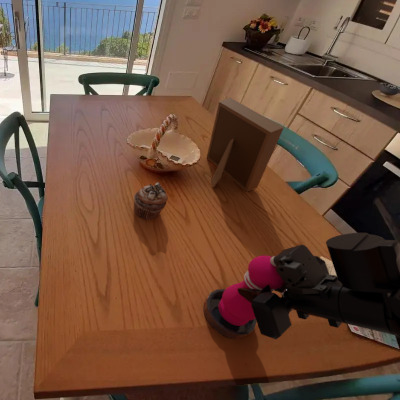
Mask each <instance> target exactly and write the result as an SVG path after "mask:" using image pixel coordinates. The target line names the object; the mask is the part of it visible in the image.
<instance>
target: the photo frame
mask: <svg viewBox="0 0 400 400" xmlns="http://www.w3.org/2000/svg"><path fill="white" fill-rule="evenodd" d="M284 129H285V127H284V126H282V125H280V124H278V123H277V122H275V121H273V120H271V119H270V118H268V117H266V116H264V115H262V114H261V113H258V112H257V111H255V110H253V109H252V108H250V107H248V106H246V105H245V104H243V103H240V102H239V101H237V100H235V99H233V98H232V97H228V98H225V99H223V100H220V101H218V104H217V109H216V114H215V119H214V122H213V127H212V131H211V136H210V139H209V145H208V150H207V154H206V159H207V160H208V161H209V162H210V163H212V164H213V166H215V167H216V169H215V171H214V173H213V175H212V177H211V179H210V183H211V187H212V189H214V188H215V187H216V185H218V183H219V182H220V180H221V179H222V176H223V173H224V175H226V176H227V177H228V178H229V179H230V180H231V181H233V182H234V183H235V184H236V185H237V186H238V187H240V188H241V189H242V190H244V191H245V192H246V193H248V192H250V191H253V190H255V189H258V186H259V184H260V182H261V180H262V178H263V176H264V173H265V171H266V169H267V167H268V164H269V162H270V160H271V157H272V156H273V153H274V151H275V149H276V146H277V144H278V141H279V139H280V137H281V135H282V133H283V131H284Z"/></svg>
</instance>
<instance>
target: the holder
mask: <svg viewBox="0 0 400 400" xmlns="http://www.w3.org/2000/svg"><path fill="white" fill-rule="evenodd" d="M226 289H227V288H220V289H219V288H218V289H215V290H213V291H211V292H209V294H208V295H207V297H206V298H205V300H204V302H203V305H202V309H203V314H204V317H205V319H206V321H207V323H208V324H209V326H211V328H212V329H213V330H214V331H215V332H217V333H218V334H220V335H221V336H223V337H226V338H228V339H232V340H241V339H243V338H245V337H247V336H248V335H250V334H251V333H252V332H253V331H255V330H256V326H257V321H256V318H255V319H253V320H249V321H248V322H247V323H246V324H245V325H243V326H236V325H233V324H231V323H229V322H227V321H226V320H225V319H224V318H223V317H222V316H221V314H220V312H219V308H218V305H219V302H220V301H221V299H222V295H223V292H224V291H225V290H226Z"/></svg>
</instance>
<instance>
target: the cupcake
mask: <svg viewBox="0 0 400 400" xmlns="http://www.w3.org/2000/svg"><path fill="white" fill-rule="evenodd" d="M168 200H169V197H168V195H167V192H166V190H165V188H163V187H162V185H161V183H160V182H156V183H155V185H154V184H151V183H150V184H148V185H144V186H142V187H141V188H140V189H138V190H137V192H136V193H134V196H133V209H134V210H133V211H134V214H135V215H137V216H138V218H140V219H143V220H149V221H150V220H153V219H156V218H158V217H159V215H160V214H161V213H162V212H163V210H164V208H165V207H166V205H167V201H168Z"/></svg>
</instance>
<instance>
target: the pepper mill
mask: <svg viewBox="0 0 400 400" xmlns="http://www.w3.org/2000/svg"><path fill="white" fill-rule="evenodd" d="M275 256H276V255H274V256H271V255H259V256H256V257H254V258H253V259H252V260H250V262H249V263H248V265H247V266H248V267H247V270H246V272H245V273H244V275H243V276H244V277H243V279H244V280H242V281H240V282H237V283H233V284H232V285H229V286H228V287H226V288H225V289H226V290H225V291H224V292H223V295H222V299H221V301H220V302H219V305H218V308H219V312H220V314H221V316H222V317H223V318H224V319H225V320H226V321H227V322H229V323H231V324H233V325H236V326H243V325H245V324H246V323H247V322H248V321H249V320H253V319H255V315H254V312H253V309H252V306H251V303H250V302H249V301H248V300H246V299H245V298H244V297H243V296H241V295H240V294H239V293H238V290H237V289H238V288H249V289H259V290H262V289H263V288H264V287H265V286H267V285H268V284H269V286H270V289H271V292H272V293H273V291H274V289H277V288H280V287H282V286H283V285H284V284H285V282H284V281H283V279H282V278H281V277H280V275H279V274H278V273H277V271H276V268H277V266H276V265H275V263H274V261H273V259H274V257H275Z"/></svg>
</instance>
